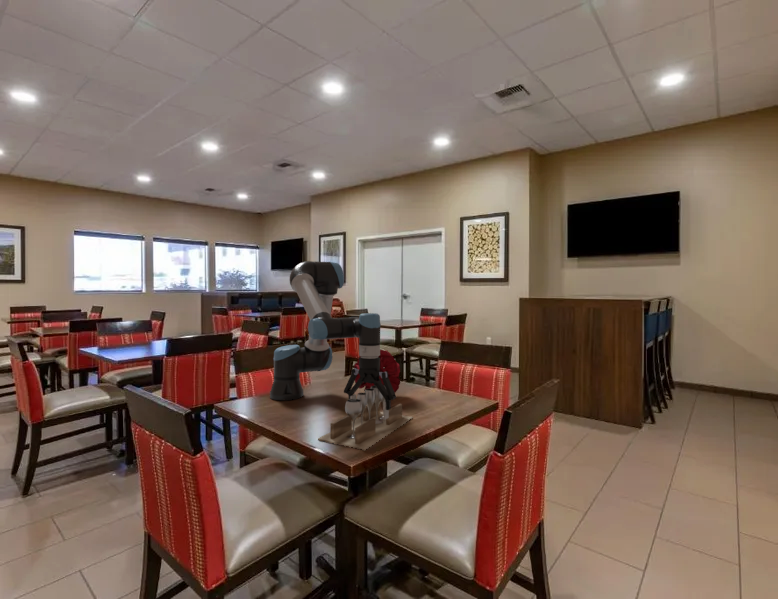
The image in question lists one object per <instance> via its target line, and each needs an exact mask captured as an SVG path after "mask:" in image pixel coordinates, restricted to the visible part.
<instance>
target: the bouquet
mask: <svg viewBox="0 0 778 599" xmlns="http://www.w3.org/2000/svg"><path fill="white" fill-rule="evenodd" d="M360 357H361V356H359V357H358V359H357V361H356V362H355V363H354V365H353V368H357V369H360V368H359V358H360ZM378 357H379V358H380V369H379V370H380V372H385V371H387V372H388V378H389V380H390V383H391V385H392V388H393V390H394V392H395V393H396V392H398V390H399V389H400V385H401V379H400V378H399V377H400V373H401V368H400V366H401V365H400V363H398V362H397V361H396V359H395V358H394V356H393V355H392V354H391V352H389V351H388V350H386V349H385V350H384V349H381V348H380V356H378ZM359 378H360V375H359V373H358V375H357V377H356V379H355V381H354V383H355V384H356V382H357V381H358V379H359ZM379 378H380V380H381V383H382V384H383V385H384V383H383V380H382V378H381V376H379ZM355 384H354V385H355ZM371 386H374V384H373V383H372V384H371V383H364V382H363V383H362V384H361V386H360V387H359V388H358V389H363V388H364V389H363V390H364V391H363V392H365V390H366V389H370V388H371Z"/></svg>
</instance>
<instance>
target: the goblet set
mask: <svg viewBox="0 0 778 599" xmlns="http://www.w3.org/2000/svg"><path fill="white" fill-rule="evenodd" d="M383 386H384V387H385V385H383ZM384 400H385V399H384V397H383V396H382V394H381V393H380V391H379V390H378V388H377V387H376V386H375V385H374V386H371V388H370V389H366V390H365V391H364V392H359V393H357V394H356V399H349V398H348V399H346V402H345V406H344V411H345V413H346V414H347V415H348V416H349V417H350V418H351V419H352V422H353V434H349V435H347V438H349V439H355V434H354V423H355V419H357V418H359V417H361V425H362V422H363V415H364V410H365V408H366V406H367V407H368V410H369V420H370V413H371V408H372V406H373V403H374V404H375V406H376V424H380V423H383V421H382V420H377V416H378V406H379V404H380V405H381V404H382V405H383V401H384ZM347 415H346V416H347ZM378 418H379V419H383V415H382V416H378Z"/></svg>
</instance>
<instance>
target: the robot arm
mask: <svg viewBox="0 0 778 599" xmlns="http://www.w3.org/2000/svg"><path fill="white" fill-rule="evenodd" d="M344 284H345V274H344V270H343V267H342V266H341V264H340V263H338V262H331V261H312V260H307V261H305V260H304V261H303V262H300V263H298V264H297V265H295V266H294V267H293V269H291V272H290V274H289V285H290V287H291V289H292V291H294V292H295V293H297V296H298V298H299V300H300V302H301V304H302V306H303V308H304V311H305V312H306V314H307V316H308V318H309V321H308V326H307V330H308V340H306V341H305V342H304V347H301V346H300V345H298V344H289V345H288V344H287V345H284V346H280V347H277V348H276V349H275V350H274V351H273V358H272V359H273V383H272V385H271V388H270V391H269V398H270V399H271V400H275V401H293V400H298V399H301V398H303V397H304V389H303V386H302V383H301V380H300V378H301V377H300V374H301V373H310V372H321V371H326V370H328V369H329V368H330V367H331V365H332V362H333V350H332V347H331V346H330V344H329V343H328V340H332V339H334V340H335V339H350V338H351V339H352V338H358V356H359V357H360V356H361V357H360V358H359V357H358V359H359V368H360V369H357V368H355V367H353V368H351V370H350V371H351V372H350V376H349V379H348V381H347V383H346V384H345V388H344V389H343V393H344V394H346V395H348V400H349V399H357V394H356V392H357V391H358V389H359V387H360V386H361V384H362V383H363V382H364V383H371V384H372V383H373V384H374V385H375V386H376V387H377V388H378V390H379V391H380V393H381V394H382V396H383V397H384V399H385V400H384V401H383V404H382V412H383V420H386V419H388V418H389V410H390V409H391V408H392V401H393V400H395V399H396V398H397V395H396V392H394V390H393V388H392V385H391V383H390V380H389V378H388V372H387V371H385V372H380V370H379V369H380V358H379V357H378V356H380V349H381V324H382V323H381V316H380V314H379V313H373V312H365V313H364V312H363V313H360V314H359V316H351V317H350V316H349V317H332V308H333V307H332V306H333V301H334V296H336V295H337V294H338V290H339V289H342V288H343V286H344ZM358 373H359V375H360V378H359V379H358V381H357V382H356V384H354V383H355V379H356V377H357V375H358ZM379 376H381V378H382V380H383V383H384V385H385V387H384V386H383V384H382V383H381V380H380V378H379ZM302 396H303V397H302ZM300 397H301V398H300ZM292 399H293V400H292Z"/></svg>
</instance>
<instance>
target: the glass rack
mask: <svg viewBox="0 0 778 599" xmlns="http://www.w3.org/2000/svg"><path fill="white" fill-rule="evenodd" d="M382 415H383V411H381V403H380V404H379V406H378V416H382ZM378 416H377V420H382V421H383V423H380V424H376V406H375V404H374V403H373V406H372V408H371V413H370V420H369V410H368V407H367V405H366V408H365V410H364V413H363V422H362V425H361V416H358V417H357V418H356V419H355V423H354V434H355V439H349V438H347V435H349V434H353V422H352V419H351V418H350V417H349V416H348V415H344V416H343V417H340V418H338V419H337V420H335V421H332V422H330V424H329V425H330V428H329V429H330V432H328V433H326V434H324V435H322V436H319V437H318V438H317V441H318V440H320V441H319V442H323V441H325V442H324V443H328V442H329V443H328V444H332V443H334V445H337V444H339V445H338V446H341V445H344V446H343V447H346V446H349V447H348V448H351V447H353V448H352V449H355V448H357V449H356V450H360V449H362V450H361V451H367V450H369V449H370V448H371V447H373V446H374V445H376V444H377V443H378V442H380V441H382V440H383V439H385V438H386V437H387V436H389V435H390V434H392V433H393V432H395V431H396V430H398V429H399V428H401V427H402V426H403V424H404V425H405V424H407V423H408V422H410V421H411V420H413V419H414V417H413V416H409V415H403V403H398V404H395V405H394V406H392V407H391V409H390V410H389V418H388V419H386V420H383V419H379V418H378ZM412 418H413V419H412ZM410 419H411V420H410ZM409 420H410V421H409ZM407 421H408V422H407ZM406 422H407V423H406ZM400 426H401V427H400ZM397 428H398V429H397ZM394 430H395V431H394ZM391 432H392V433H391ZM388 434H389V435H388ZM385 436H386V437H385ZM382 438H383V439H382ZM379 440H380V441H379ZM376 442H377V443H376ZM372 445H373V446H372ZM369 447H370V448H369ZM366 449H367V450H366Z"/></svg>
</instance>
